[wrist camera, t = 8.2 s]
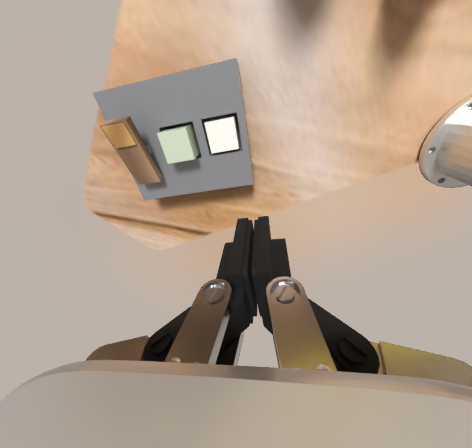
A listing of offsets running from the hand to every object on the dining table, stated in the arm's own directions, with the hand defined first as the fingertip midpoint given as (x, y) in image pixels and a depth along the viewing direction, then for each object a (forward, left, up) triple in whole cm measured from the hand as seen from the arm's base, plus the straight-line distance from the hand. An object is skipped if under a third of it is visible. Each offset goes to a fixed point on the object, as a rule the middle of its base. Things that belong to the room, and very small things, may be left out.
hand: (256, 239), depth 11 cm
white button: (+3, -3, -20) cm, 21 cm away
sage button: (+9, -3, -19) cm, 21 cm away
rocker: (+14, -3, -16) cm, 21 cm away
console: (+9, -3, -22) cm, 24 cm away
